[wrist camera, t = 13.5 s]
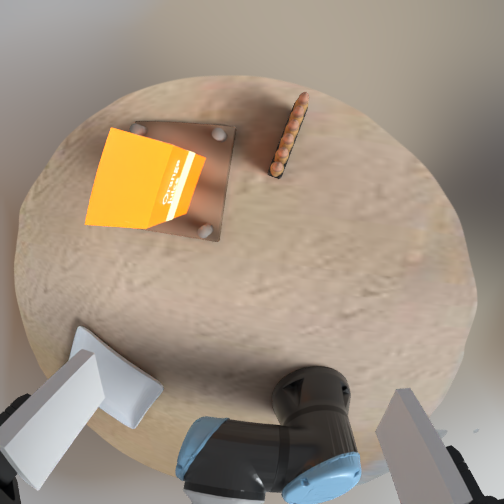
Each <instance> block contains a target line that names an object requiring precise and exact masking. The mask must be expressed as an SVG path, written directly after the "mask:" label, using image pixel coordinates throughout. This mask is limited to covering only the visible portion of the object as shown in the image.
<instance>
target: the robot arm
mask: <svg viewBox="0 0 504 504" xmlns="http://www.w3.org/2000/svg"><path fill="white" fill-rule="evenodd" d="M350 398H351V394H350V388H349V385H348V382H347V380H346V379H345V377H344V376H343V375H342V374H341V373H339V372H338V371H336V370H333V369H330V368H326V367H308V368H303V369H300V370H297V371H295V372H292V373H291V374H289V375H287V376H286V377H284V378H283V379H282V380H281V381H280V382H279V383H278V384H277V386H276V387H275V389H274V392H273V410H274V412H275V414H276V417H277V419H278V421H279V423H280V424H281V425H273V424H262V423H253V422H245V421H237V420H230V418H215V417H207V416H205V417H201V418H199V419H197V420H196V421H195V422H194V423H193V424H192V426H191V427H190V429H189V431H188V433H187V435H186V437H185V439H184V441H183V444H182V446H181V449H180V452H179V455H178V459H177V462H178V463H177V466H176V476H177V478H179V479H180V480H182V481H185V485H184V490H183V491H184V492H185V493H186V495H187V496H188V497H189V498H190V500H191V502H192V504H263V503H264V501H265V493H266V492H277V493H278V492H279V493H282V497H283V499H284V500H285V501H286V502H287V503H289V504H292V503H293V504H317V503H321V502H325V501H329V500H331V499H334V498H336V497H338V496H341V495H342V494H344V493H346V492H347V491H349V490H350V489H352V488H353V487H354V486H355V485H356V484H357V482H358V481H359V479H360V477H361V465H360V455H359V453H358V451H357V447H356V443H355V440H354V436H353V433H352V429H351V426H350V422H349V419H348V411H349V405H350ZM104 399H105V396H104V392H103V388H102V384H101V380H100V375H99V371H98V366H97V361H96V356H95V353H93V352H90V351H87V350H84V349H81V350H80V351H79V352H77V353H76V354H75V355H74V356H73V357H72V358H71V359H70V360H69V361H68V362H67V363H65V364H64V365H63V366H62V367H61V368H60V369H59V370H58V371H57V372H56V373H55V374H54V375H53V376H51V377H50V378H49V379H48V380H47V381H46V382H45V383H44V384H43V385H42V386H41V387H40V388H39V389H38V390H37V391H36V392H35V393H34V394H33V395H32V396H31V395H29V394H25V395H23V396H20V397H18V398H17V399H16V400H15V401H14V402H13V403H12V404H11V405H10V406H9V407H7V408H6V409H5V412H2V413H1V414H0V504H21V501H20V495H19V489H18V482H17V479H16V477H15V476H16V475H17V473H18V475H19V476H20V477H21V478H22V479H23V480H24V481H25V482H26V483H27V484H29V485H30V486H32V487H33V488H35V489H36V490H37V491H39V489H40V487H41V486H42V485H43V483H44V482H45V480H46V479H47V477H48V476H49V475H50V473H51V472H52V470H53V469H54V467H55V466H56V465H57V463H58V462H59V460H60V459H61V458H62V456H63V455H64V453H65V452H66V450H67V449H68V448H69V446H70V445H71V444H72V442H73V441H74V439H75V438H76V437H77V435H78V433H79V432H80V431H81V430H82V428H83V427H84V426H85V424H86V423H87V422H88V420H89V419H90V417H91V416H92V415H93V413H94V412H95V411H96V409H97V408H98V407H99V405H100V404H101V403H102V401H103V400H104ZM375 432H376V434H377V437H378V440H379V442H380V445H381V448H382V451H383V453H384V456H385V459H386V462H387V464H388V467H389V470H390V473H391V476H392V479H393V482H394V485H395V488H396V491H397V494H398V497H399V500H400V503H401V504H504V499H500V500H497V499H496V498H495V497H493V496H484V495H483V494H482V492H481V490H480V488H479V486H478V484H477V482H476V480H475V479H474V477H473V475H472V473H471V471H470V470H468V466H467V464H466V463H464V459H463V457H462V455H461V454H460V452H459V451H458V450H456V449H455V448H454V447H453V446H447V447H445V445H444V444H443V442H442V440H441V438H440V437H439V435H438V433H437V431H436V430H435V428H434V426H433V425H432V423H431V421H430V420H429V418H428V416H427V414H426V413H425V411H424V410H423V408H422V406H421V405H420V403H419V401H418V400H417V398H416V397H415V395H414V393H413V392H412V390H411V389H410V388H405V389H396V390H395V393H394V395H393V397H392V399H391V401H390V403H389V405H388V408H387V410H386V412H385V414H384V416H383V418H382V419H381V421H380V423H379V425H378V427H377V429H376V431H375Z"/></svg>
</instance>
